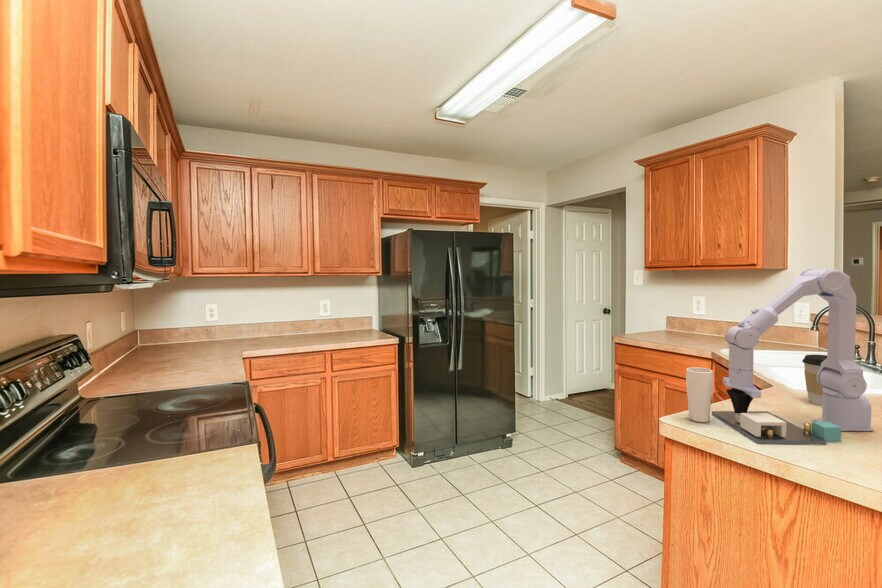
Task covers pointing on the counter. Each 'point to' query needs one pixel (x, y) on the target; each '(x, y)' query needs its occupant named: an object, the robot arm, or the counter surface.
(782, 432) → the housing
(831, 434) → the block
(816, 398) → the coffee cup
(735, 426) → the base plate
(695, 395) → the drinking glass
